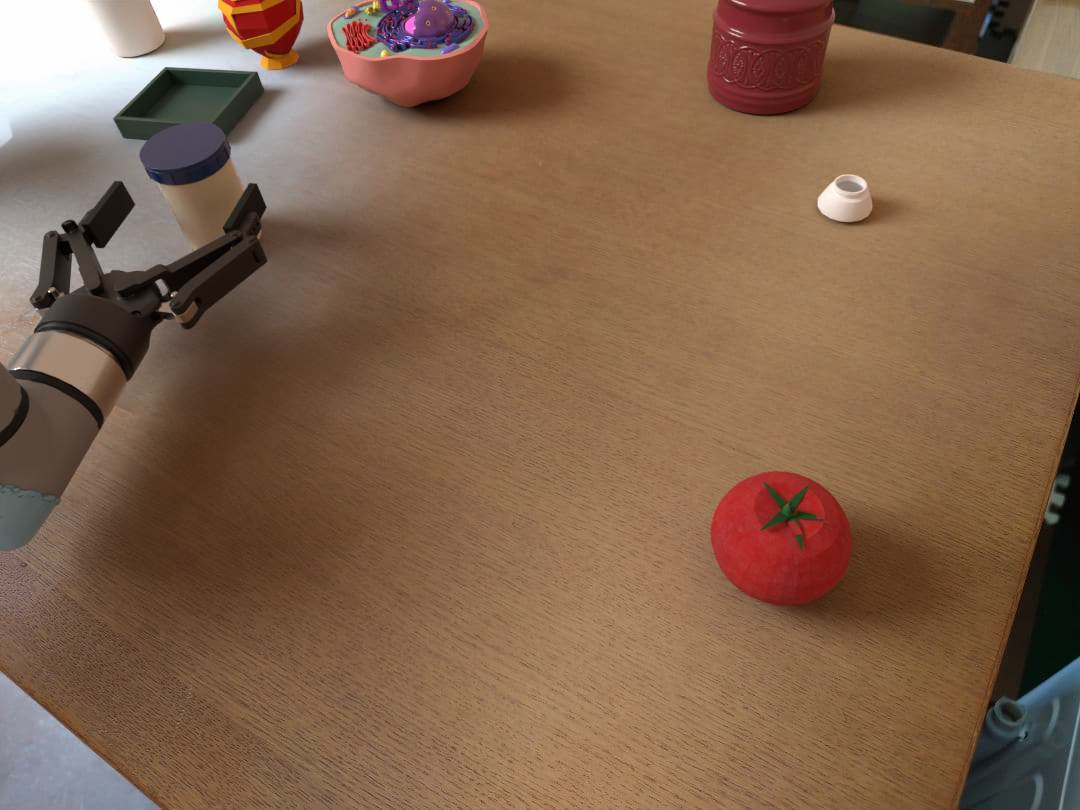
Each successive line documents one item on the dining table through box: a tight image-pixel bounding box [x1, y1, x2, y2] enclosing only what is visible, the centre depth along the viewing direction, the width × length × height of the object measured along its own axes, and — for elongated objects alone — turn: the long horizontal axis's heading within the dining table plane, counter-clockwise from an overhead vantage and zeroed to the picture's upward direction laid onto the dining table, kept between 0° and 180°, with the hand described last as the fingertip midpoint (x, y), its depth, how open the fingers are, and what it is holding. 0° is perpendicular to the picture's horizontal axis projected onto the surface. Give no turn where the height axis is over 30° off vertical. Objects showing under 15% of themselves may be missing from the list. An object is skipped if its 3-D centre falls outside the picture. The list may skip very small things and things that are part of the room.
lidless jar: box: [817, 174, 874, 223], centre depth 75 cm, size 5×3×5 cm
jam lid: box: [138, 122, 232, 185], centre depth 73 cm, size 8×8×2 cm
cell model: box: [326, 0, 490, 108], centre depth 92 cm, size 17×20×11 cm
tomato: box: [710, 470, 853, 607], centre depth 50 cm, size 9×9×8 cm
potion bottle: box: [217, 0, 305, 71], centre depth 98 cm, size 10×10×15 cm
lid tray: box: [112, 66, 265, 141], centre depth 96 cm, size 13×12×3 cm
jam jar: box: [155, 155, 263, 252], centre depth 76 cm, size 7×7×10 cm
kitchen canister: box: [706, 0, 836, 115], centre depth 84 cm, size 13×13×18 cm
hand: (191, 193), depth 74 cm, fingers open, 13 cm apart
